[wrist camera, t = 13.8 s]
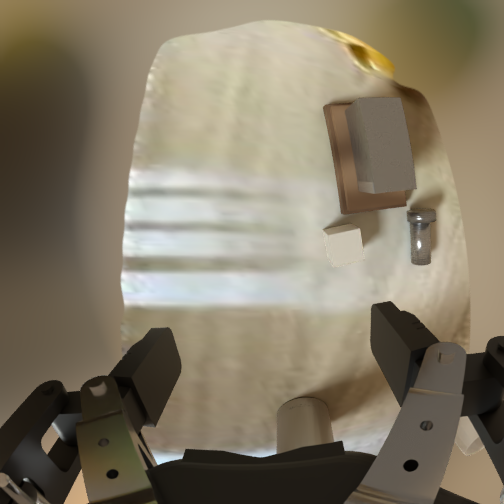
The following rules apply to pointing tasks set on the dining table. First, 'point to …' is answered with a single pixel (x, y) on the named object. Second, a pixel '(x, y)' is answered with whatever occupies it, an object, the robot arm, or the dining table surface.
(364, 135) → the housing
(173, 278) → the dining table surface
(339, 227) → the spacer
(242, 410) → the dining table surface
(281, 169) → the dining table surface
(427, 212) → the bolt
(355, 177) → the stand
